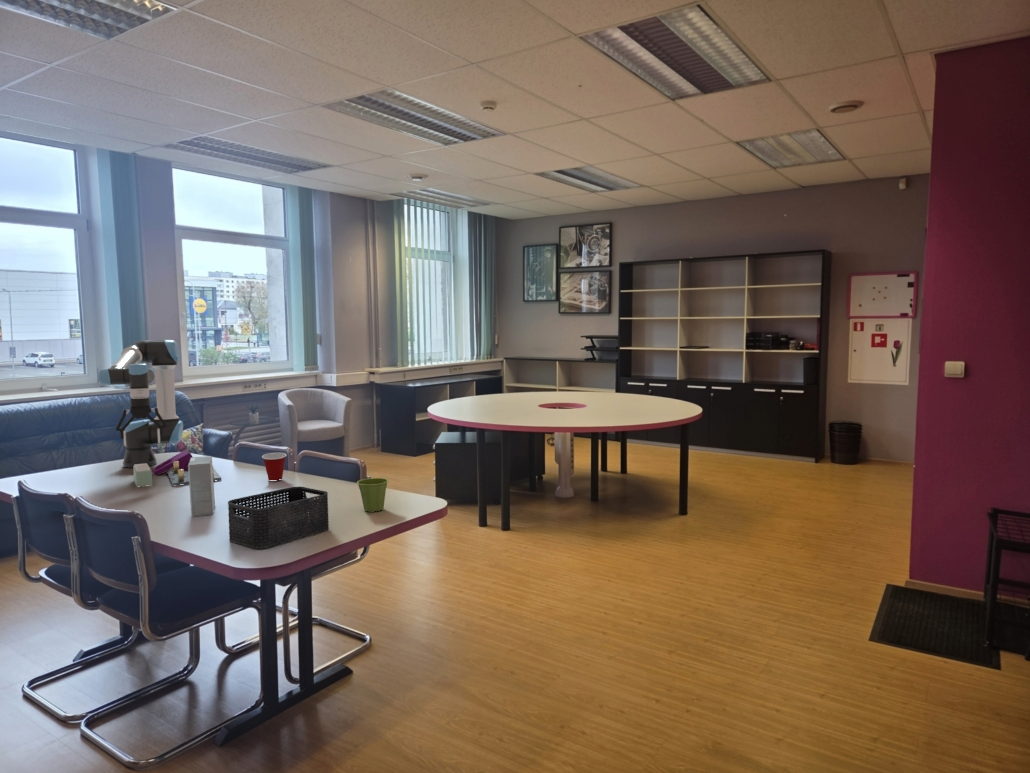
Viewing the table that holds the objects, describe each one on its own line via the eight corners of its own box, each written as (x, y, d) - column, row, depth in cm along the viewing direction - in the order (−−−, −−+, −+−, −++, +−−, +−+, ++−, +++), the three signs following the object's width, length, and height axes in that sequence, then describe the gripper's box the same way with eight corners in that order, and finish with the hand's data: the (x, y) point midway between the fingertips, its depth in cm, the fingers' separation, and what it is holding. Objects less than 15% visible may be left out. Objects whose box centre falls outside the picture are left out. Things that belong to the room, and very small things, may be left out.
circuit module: (134, 481, 309) (133, 464, 309) (148, 479, 313) (147, 462, 312) (137, 488, 296) (135, 470, 296) (152, 486, 300) (151, 468, 299)
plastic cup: (261, 483, 301) (260, 457, 300) (264, 478, 311) (263, 453, 310) (286, 482, 303) (285, 456, 302) (288, 477, 314) (287, 452, 313)
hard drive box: (193, 507, 262) (191, 457, 260) (215, 505, 264) (212, 455, 263) (190, 517, 247) (187, 464, 246) (213, 515, 250) (210, 462, 248)
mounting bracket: (163, 487, 322) (198, 466, 332) (154, 472, 320) (189, 452, 329) (159, 483, 330) (193, 463, 339) (149, 469, 327) (185, 449, 336)
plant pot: (389, 505, 261) (388, 476, 260) (389, 513, 250) (389, 483, 249) (358, 507, 259) (357, 478, 258) (357, 515, 247) (356, 485, 246)
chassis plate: (167, 474, 323) (166, 461, 322) (212, 469, 333) (211, 456, 333) (173, 486, 298) (172, 472, 297) (221, 480, 308) (220, 466, 308)
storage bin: (298, 520, 242) (297, 484, 241) (333, 529, 231) (332, 491, 229) (225, 541, 219) (222, 501, 218) (259, 552, 207) (257, 510, 206)
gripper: (107, 399, 293) (110, 447, 294) (171, 396, 306) (173, 442, 307) (107, 398, 299) (110, 445, 300) (169, 395, 312) (172, 440, 314)
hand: (142, 444), depth 304 cm, fingers open, 13 cm apart
